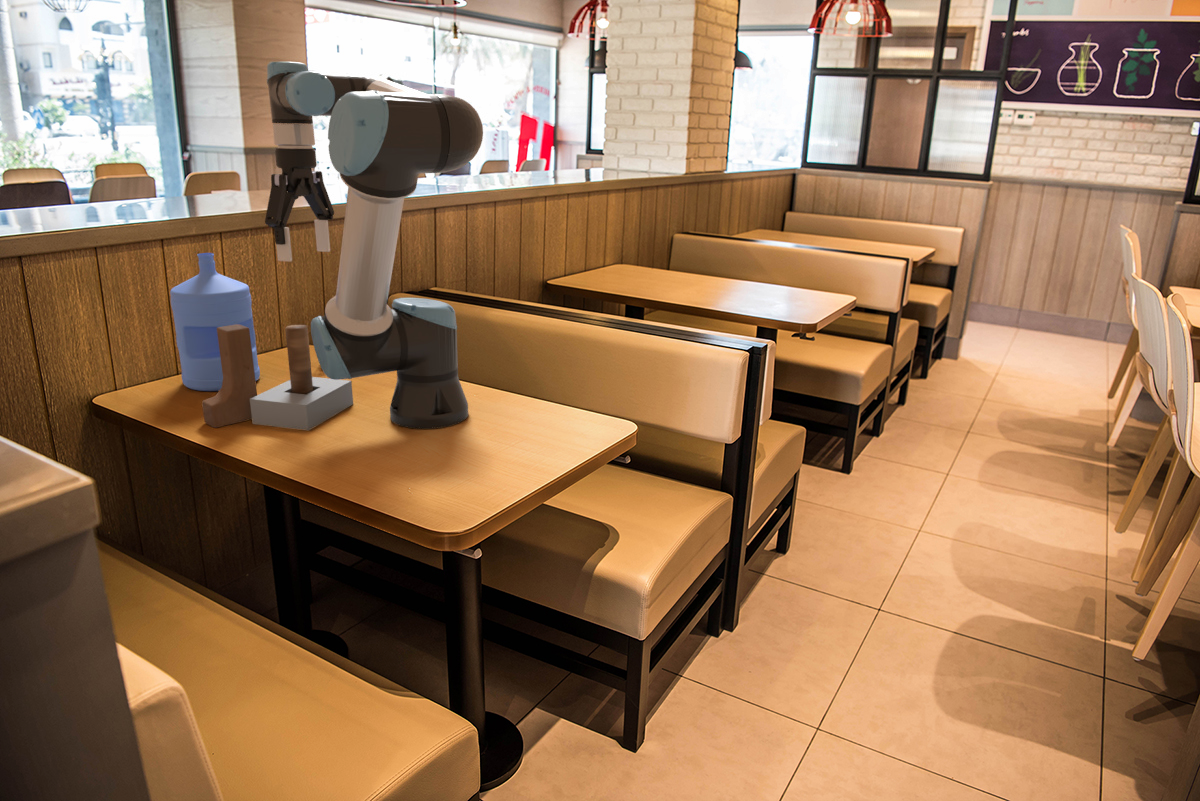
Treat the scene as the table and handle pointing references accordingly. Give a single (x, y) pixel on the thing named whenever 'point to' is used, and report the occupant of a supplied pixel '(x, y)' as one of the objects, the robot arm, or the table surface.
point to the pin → (299, 359)
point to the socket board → (301, 404)
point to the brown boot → (233, 379)
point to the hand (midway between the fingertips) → (305, 256)
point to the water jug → (208, 323)
